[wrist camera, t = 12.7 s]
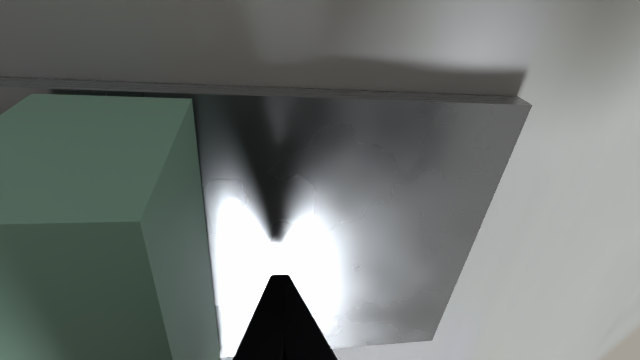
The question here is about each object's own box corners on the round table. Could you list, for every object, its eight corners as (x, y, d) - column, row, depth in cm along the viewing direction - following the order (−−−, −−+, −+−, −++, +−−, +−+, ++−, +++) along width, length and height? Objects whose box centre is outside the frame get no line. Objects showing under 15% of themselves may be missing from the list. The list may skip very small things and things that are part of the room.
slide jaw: (192, 98, 8) (140, 221, 4) (221, 365, 13) (208, 510, 10) (9, 92, 7) (-214, 228, 4) (119, 374, 12) (68, 531, 9)
